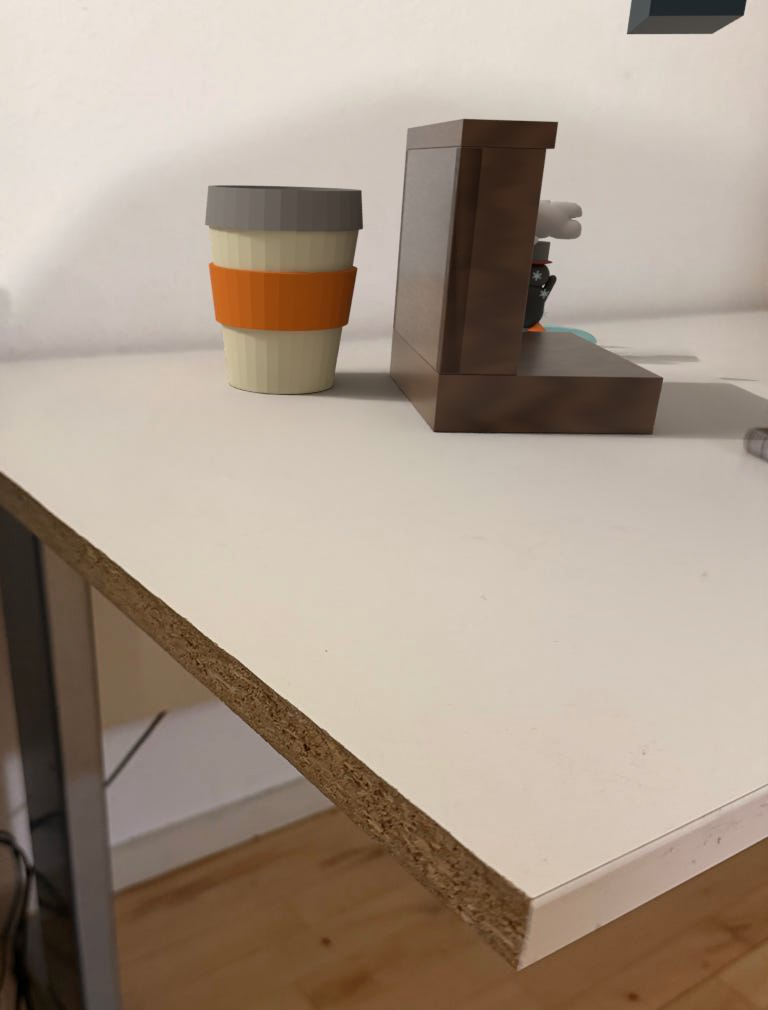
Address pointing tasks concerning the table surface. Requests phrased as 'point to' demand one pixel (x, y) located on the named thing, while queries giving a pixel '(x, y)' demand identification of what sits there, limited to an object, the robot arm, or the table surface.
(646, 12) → the watch
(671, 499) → the table surface
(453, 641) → the table surface
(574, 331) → the penguin figurine
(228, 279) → the reusable coffee cup
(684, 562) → the table surface
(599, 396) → the shelf
